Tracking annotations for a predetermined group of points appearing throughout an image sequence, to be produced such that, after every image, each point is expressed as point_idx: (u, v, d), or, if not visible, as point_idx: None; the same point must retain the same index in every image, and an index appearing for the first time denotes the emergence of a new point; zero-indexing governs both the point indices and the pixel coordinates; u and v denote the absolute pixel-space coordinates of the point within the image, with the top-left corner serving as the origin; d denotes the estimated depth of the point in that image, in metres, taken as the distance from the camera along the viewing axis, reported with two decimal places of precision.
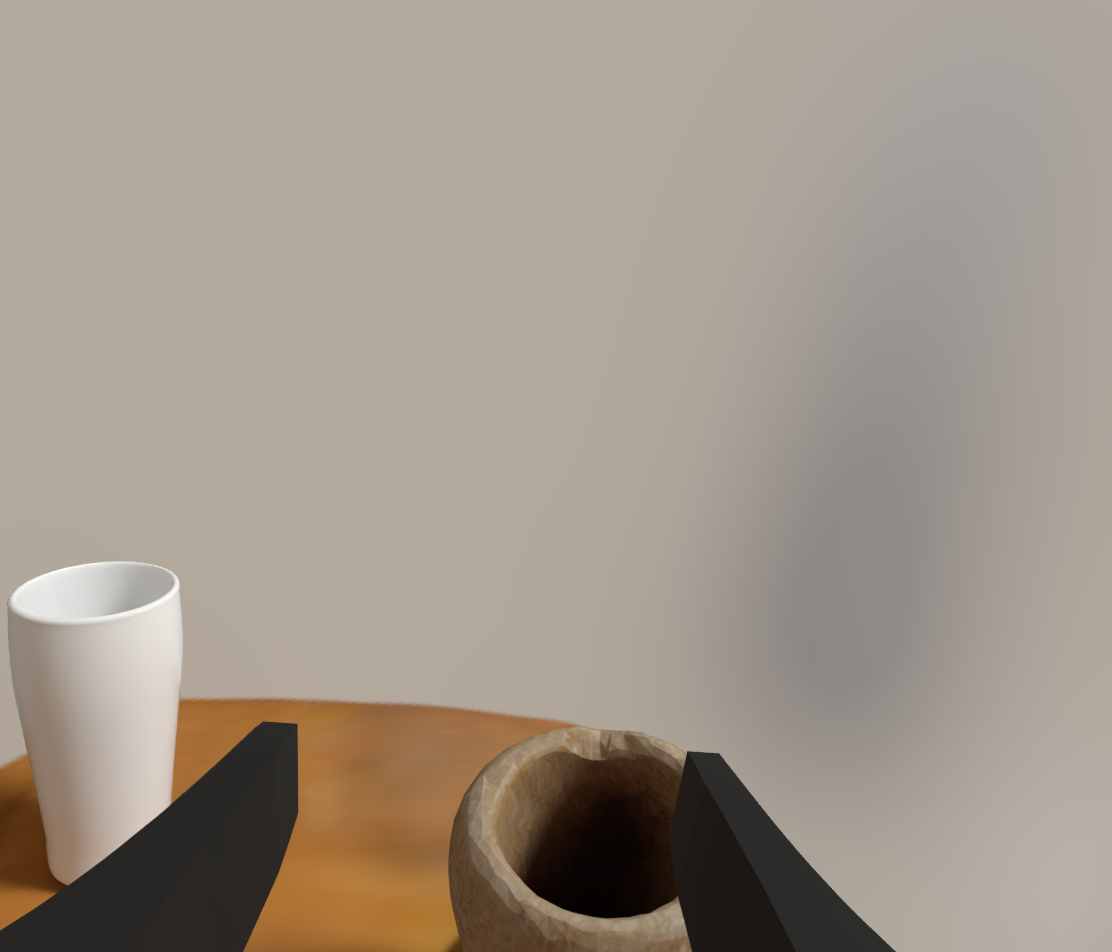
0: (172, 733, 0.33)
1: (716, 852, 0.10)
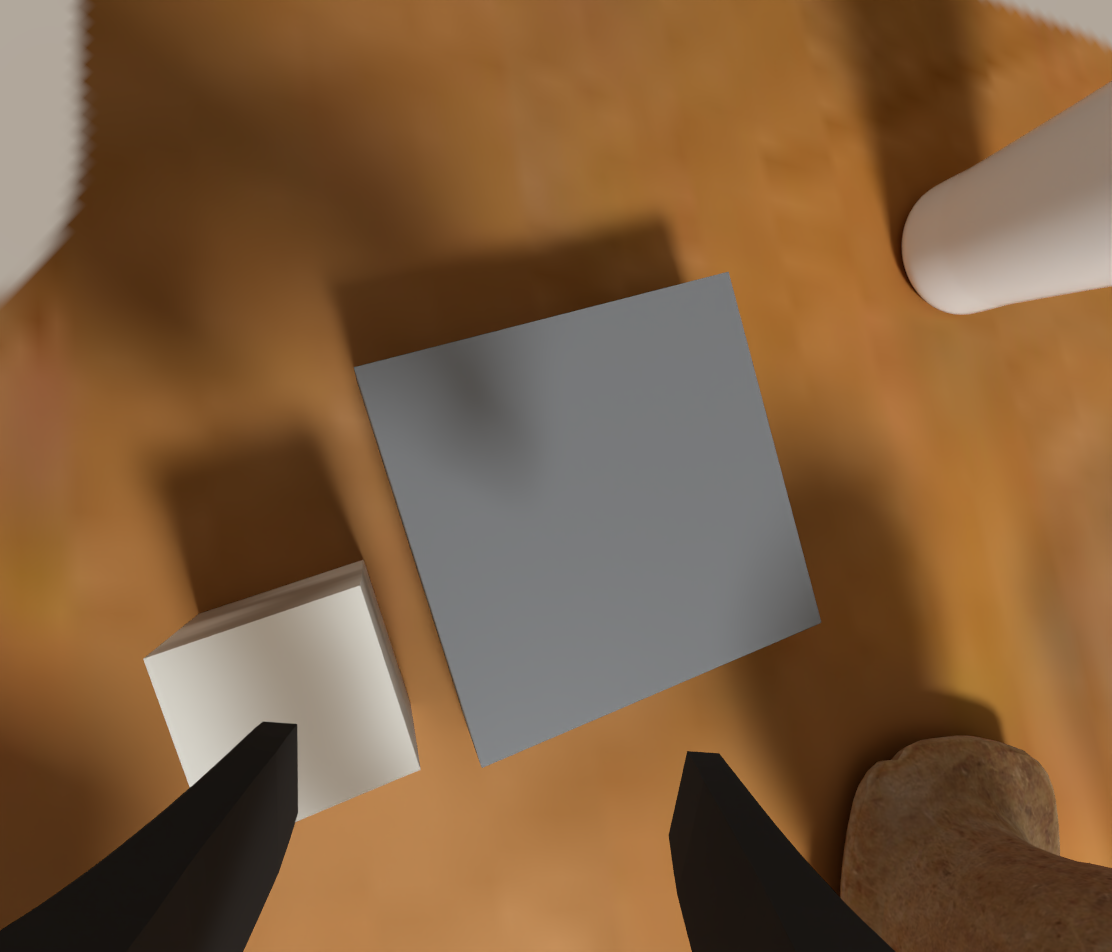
0: None
1: (716, 852, 0.10)
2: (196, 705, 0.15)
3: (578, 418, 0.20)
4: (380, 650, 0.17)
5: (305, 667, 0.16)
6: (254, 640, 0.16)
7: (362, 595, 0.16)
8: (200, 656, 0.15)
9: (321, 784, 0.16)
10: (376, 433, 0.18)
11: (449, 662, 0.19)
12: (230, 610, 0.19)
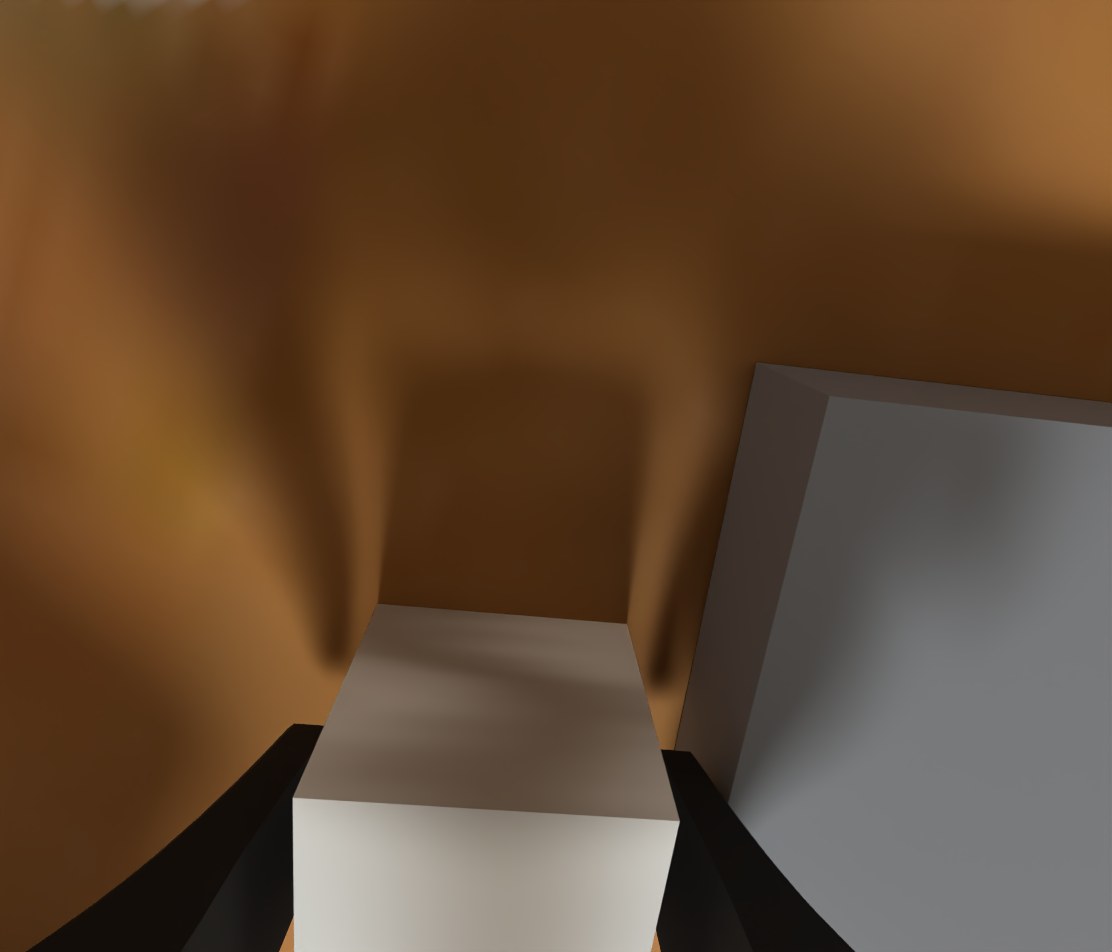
0: None
1: (682, 849, 0.10)
2: (347, 886, 0.09)
3: None
4: (656, 916, 0.09)
5: (532, 898, 0.09)
6: (474, 836, 0.09)
7: (674, 834, 0.09)
8: (381, 827, 0.09)
9: None
10: (800, 527, 0.09)
11: None
12: (429, 655, 0.12)
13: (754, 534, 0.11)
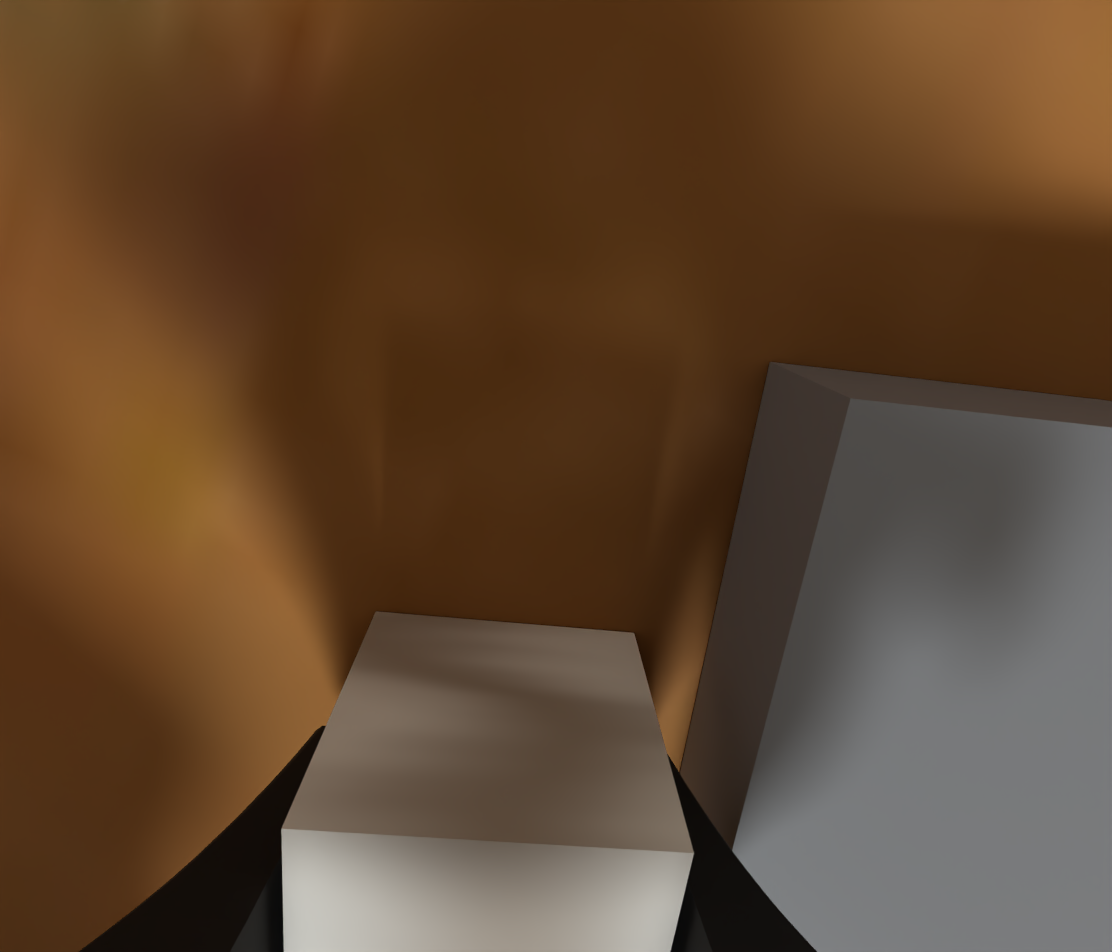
0: None
1: None
2: (339, 920, 0.08)
3: None
4: (668, 951, 0.09)
5: (535, 933, 0.08)
6: (474, 868, 0.08)
7: (687, 866, 0.08)
8: (376, 859, 0.08)
9: None
10: (818, 535, 0.09)
11: None
12: (428, 670, 0.11)
13: (767, 541, 0.11)
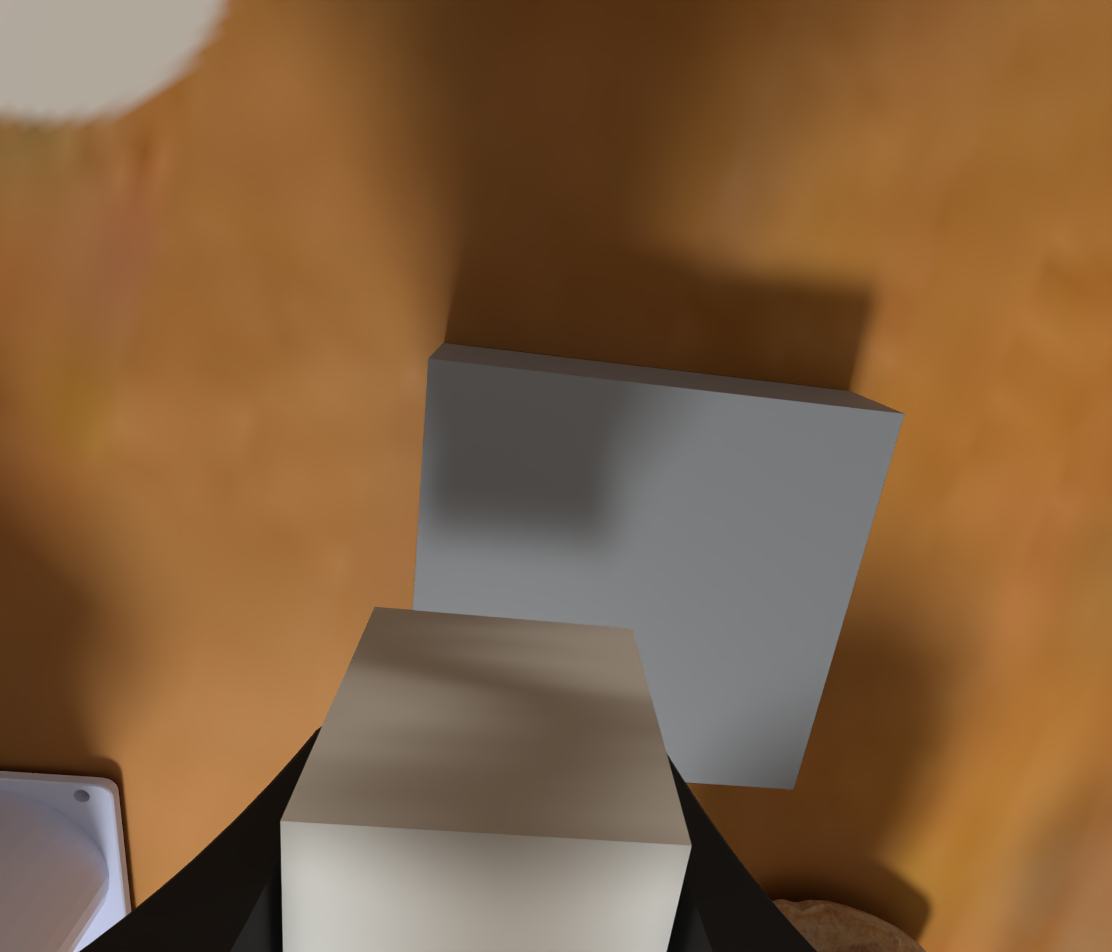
0: None
1: None
2: (338, 913, 0.08)
3: (644, 503, 0.17)
4: (665, 944, 0.09)
5: (535, 926, 0.09)
6: (473, 861, 0.08)
7: (685, 859, 0.08)
8: (375, 852, 0.08)
9: None
10: (425, 435, 0.16)
11: None
12: (427, 665, 0.11)
13: None
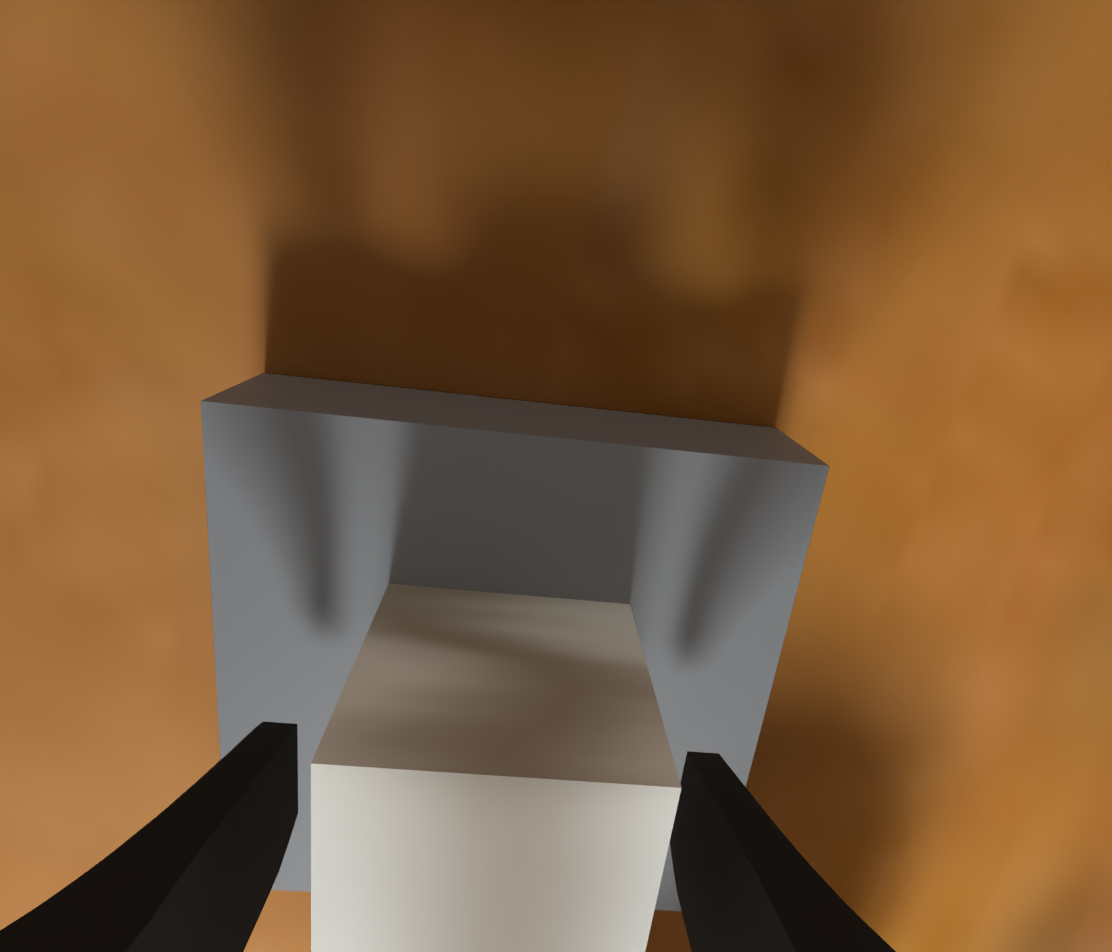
0: None
1: (715, 851, 0.10)
2: (362, 850, 0.09)
3: (500, 580, 0.13)
4: (658, 880, 0.10)
5: (539, 862, 0.09)
6: (484, 802, 0.09)
7: (675, 801, 0.09)
8: (395, 792, 0.09)
9: None
10: (207, 498, 0.13)
11: None
12: (438, 634, 0.12)
13: None
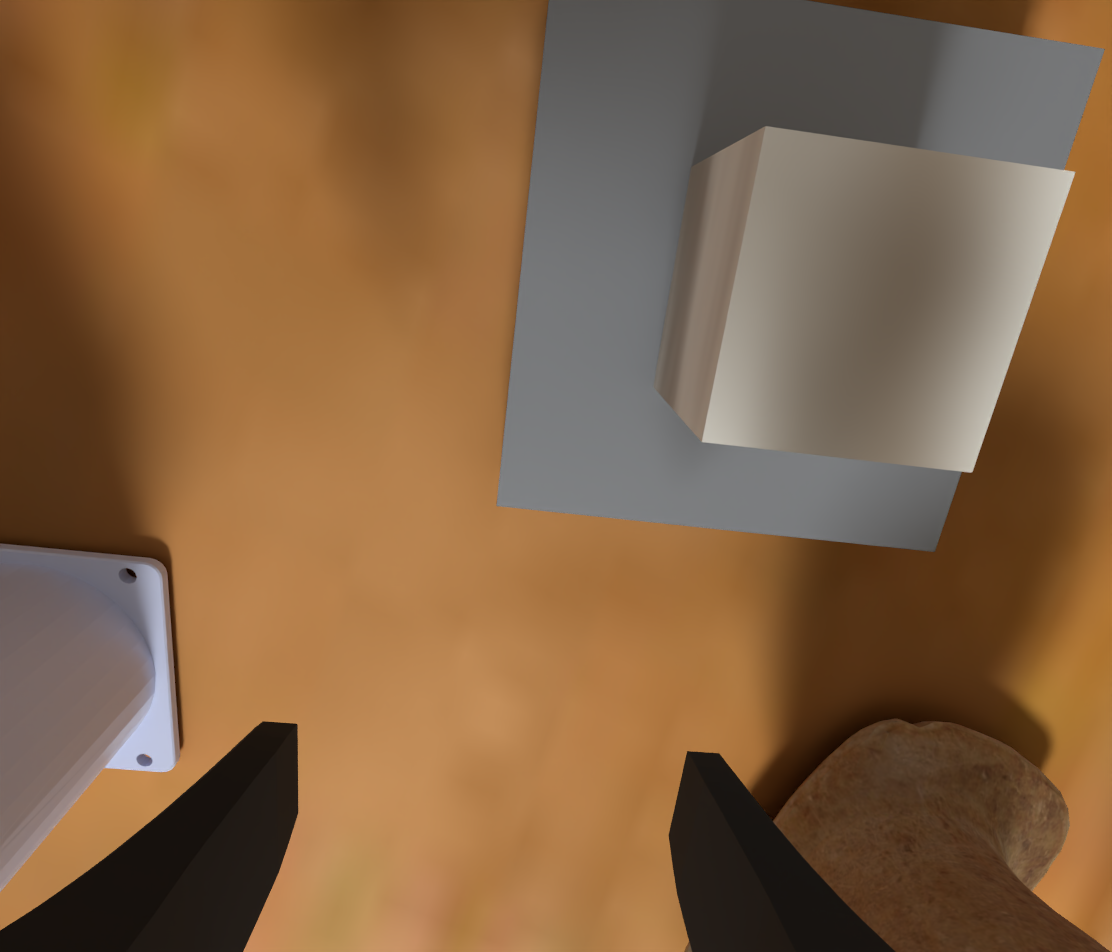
0: None
1: (716, 852, 0.10)
2: (787, 233, 0.10)
3: None
4: (1033, 286, 0.11)
5: (936, 256, 0.11)
6: (903, 179, 0.10)
7: (1065, 190, 0.10)
8: (831, 163, 0.10)
9: (858, 425, 0.12)
10: (543, 65, 0.14)
11: (510, 382, 0.16)
12: None
13: None
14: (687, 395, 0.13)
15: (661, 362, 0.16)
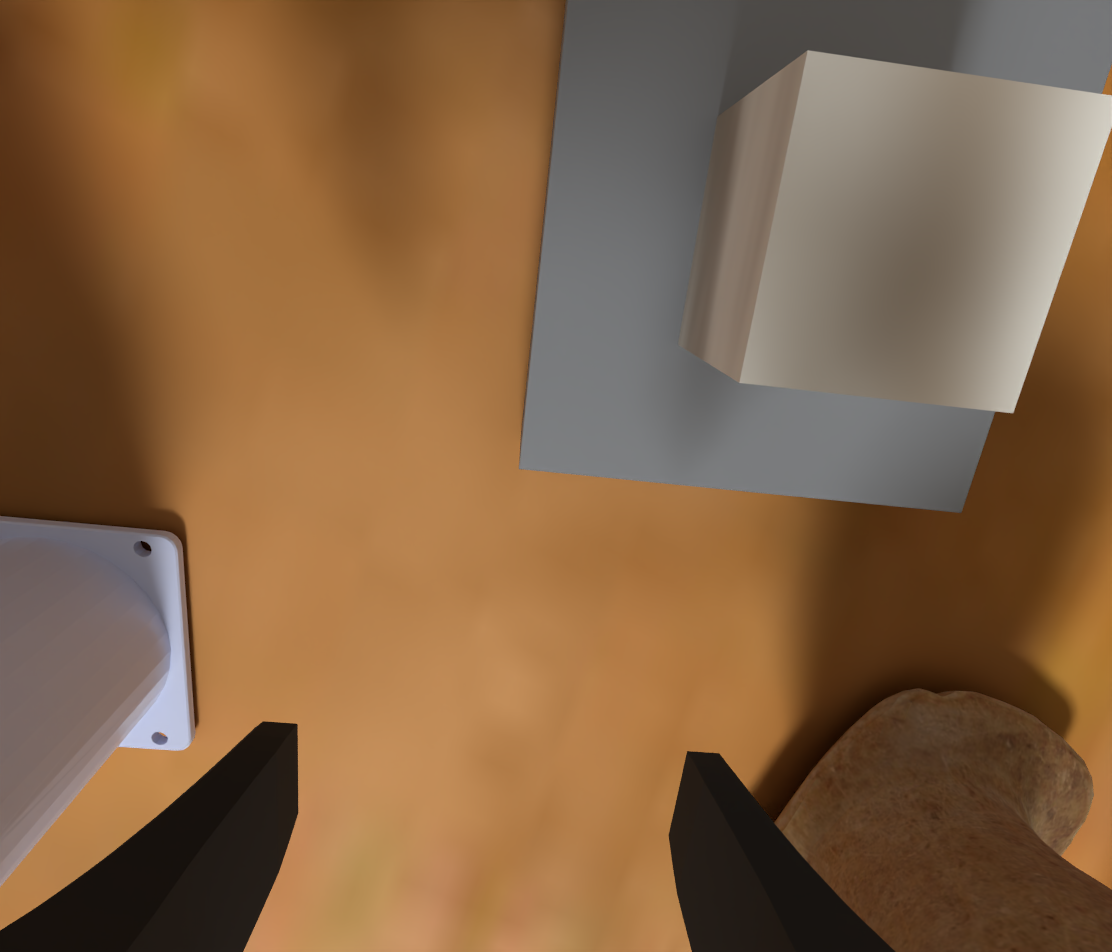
0: None
1: (715, 851, 0.10)
2: (829, 163, 0.10)
3: None
4: (1078, 217, 0.11)
5: (980, 187, 0.10)
6: (947, 106, 0.10)
7: (1111, 116, 0.10)
8: (873, 89, 0.10)
9: (898, 364, 0.11)
10: (568, 12, 0.14)
11: (533, 340, 0.16)
12: None
13: (559, 70, 0.15)
14: (719, 342, 0.13)
15: (687, 318, 0.15)
